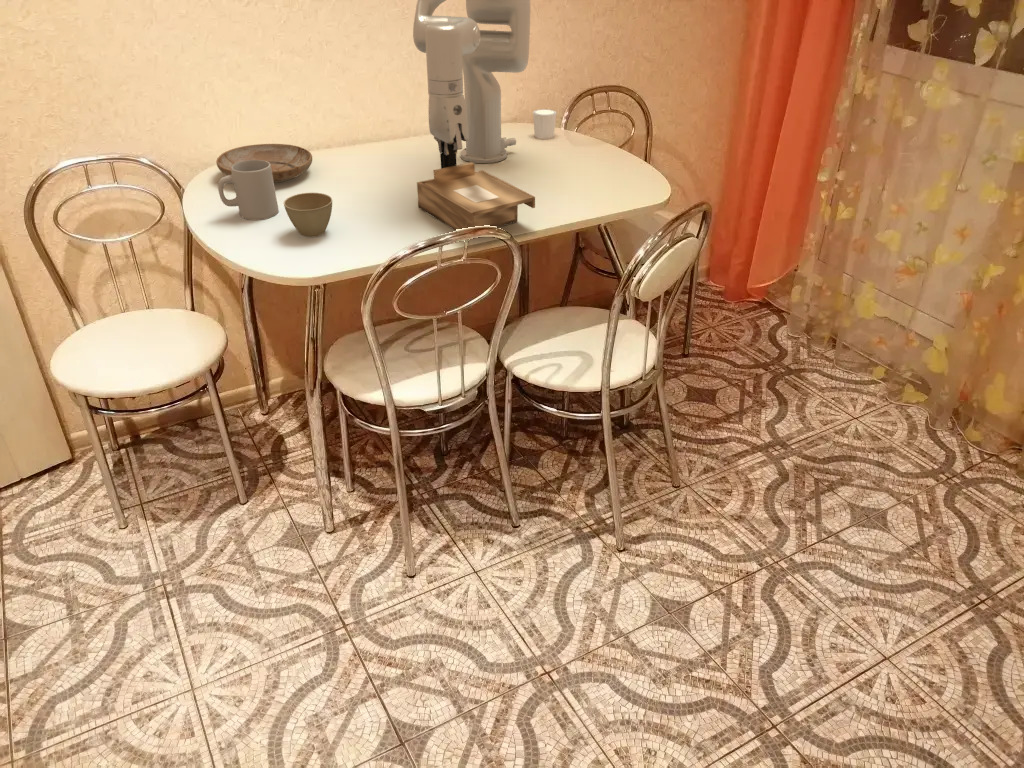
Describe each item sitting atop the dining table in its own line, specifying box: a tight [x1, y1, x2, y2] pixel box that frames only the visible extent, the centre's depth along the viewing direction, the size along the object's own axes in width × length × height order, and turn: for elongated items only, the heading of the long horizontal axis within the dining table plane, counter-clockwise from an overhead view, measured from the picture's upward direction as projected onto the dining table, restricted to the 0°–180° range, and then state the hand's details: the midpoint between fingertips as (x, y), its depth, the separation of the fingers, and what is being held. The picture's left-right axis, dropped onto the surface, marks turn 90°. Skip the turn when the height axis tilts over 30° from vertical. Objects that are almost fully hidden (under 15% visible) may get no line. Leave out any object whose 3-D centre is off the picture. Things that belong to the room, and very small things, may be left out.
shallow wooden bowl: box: [215, 143, 313, 184], centre depth 196 cm, size 23×24×5 cm
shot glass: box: [532, 108, 558, 140], centre depth 224 cm, size 7×7×7 cm
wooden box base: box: [416, 178, 519, 231], centre depth 174 cm, size 14×20×6 cm
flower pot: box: [283, 192, 333, 238], centre depth 165 cm, size 10×10×7 cm
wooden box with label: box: [421, 162, 536, 224], centre depth 168 cm, size 16×21×5 cm
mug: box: [217, 160, 279, 221], centre depth 172 cm, size 12×8×11 cm
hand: (448, 170), depth 176 cm, fingers closed
